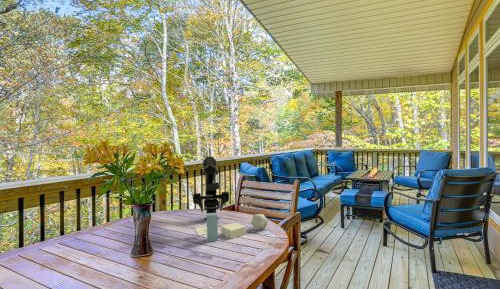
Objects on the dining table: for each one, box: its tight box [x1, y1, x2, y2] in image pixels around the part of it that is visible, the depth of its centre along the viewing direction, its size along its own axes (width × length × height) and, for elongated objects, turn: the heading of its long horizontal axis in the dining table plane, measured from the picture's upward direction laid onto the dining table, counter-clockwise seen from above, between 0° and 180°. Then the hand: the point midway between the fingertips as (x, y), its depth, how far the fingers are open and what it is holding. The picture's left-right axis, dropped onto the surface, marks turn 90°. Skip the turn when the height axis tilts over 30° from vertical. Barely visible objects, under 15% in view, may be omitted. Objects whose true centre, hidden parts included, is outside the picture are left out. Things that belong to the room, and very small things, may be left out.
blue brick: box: [206, 212, 219, 242], centre depth 142 cm, size 4×5×12 cm
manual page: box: [194, 226, 207, 236], centre depth 156 cm, size 12×9×1 cm
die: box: [250, 213, 269, 231], centre depth 156 cm, size 8×9×10 cm
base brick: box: [220, 222, 247, 240], centre depth 149 cm, size 9×9×4 cm
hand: (211, 211), depth 148 cm, fingers open, 9 cm apart
